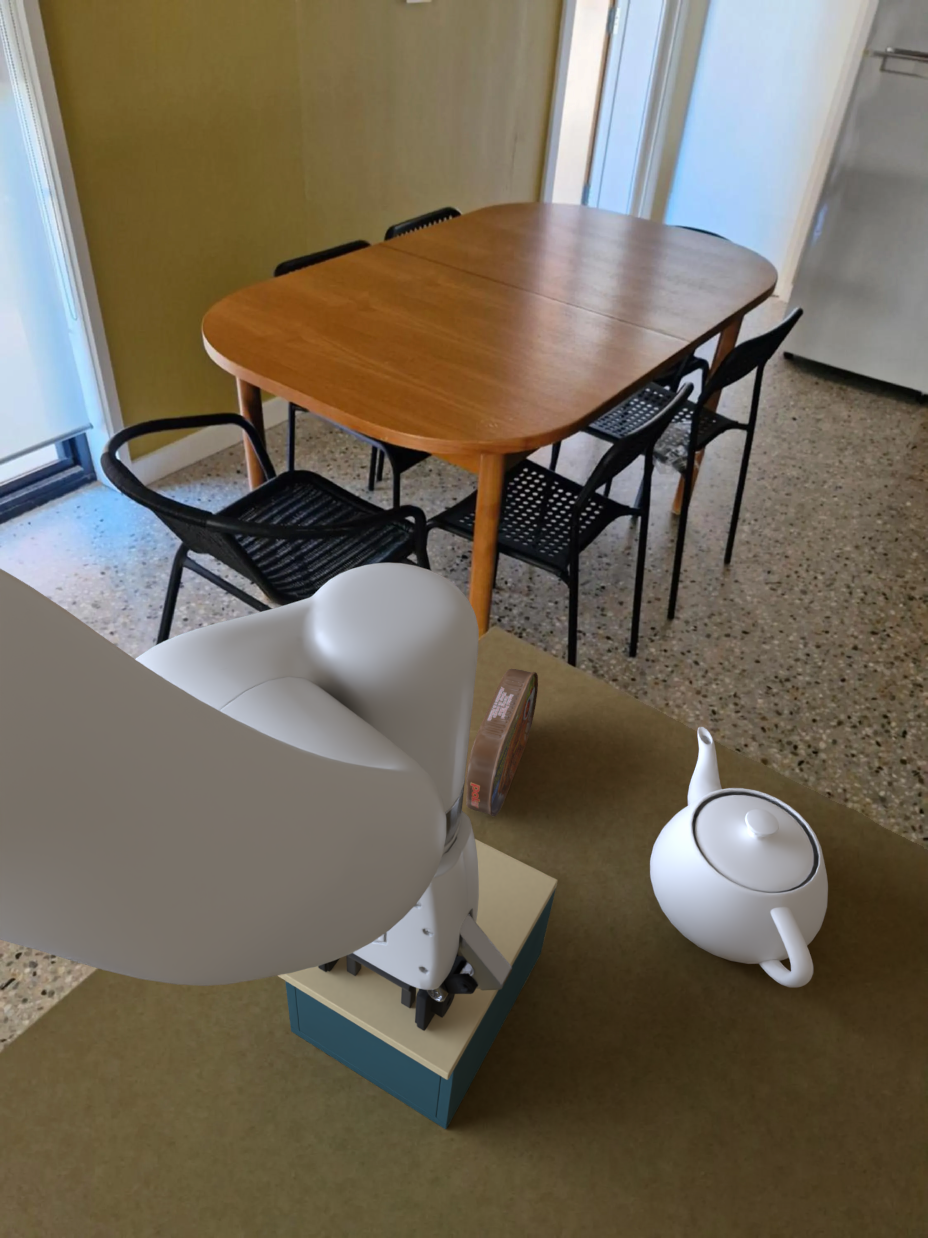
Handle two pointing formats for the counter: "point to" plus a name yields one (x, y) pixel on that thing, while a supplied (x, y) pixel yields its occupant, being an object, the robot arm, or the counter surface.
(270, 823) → the robot arm
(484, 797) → the tin
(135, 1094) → the counter surface
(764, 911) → the teapot
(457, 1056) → the lid
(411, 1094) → the teal open box
